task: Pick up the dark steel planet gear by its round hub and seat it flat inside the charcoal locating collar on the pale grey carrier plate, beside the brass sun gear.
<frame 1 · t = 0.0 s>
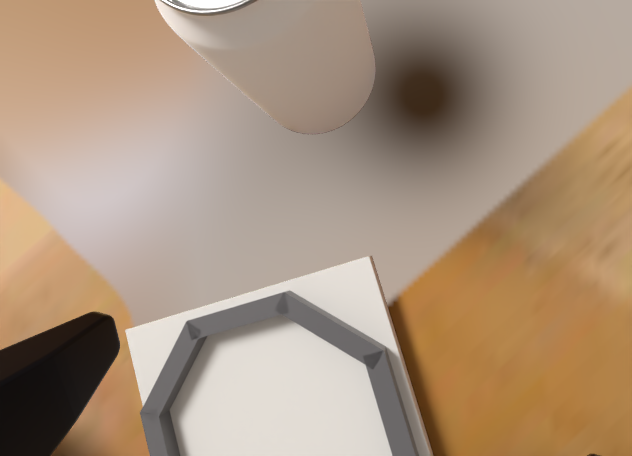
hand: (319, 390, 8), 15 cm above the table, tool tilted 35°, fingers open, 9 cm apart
can: (317, 78, 25), on the table
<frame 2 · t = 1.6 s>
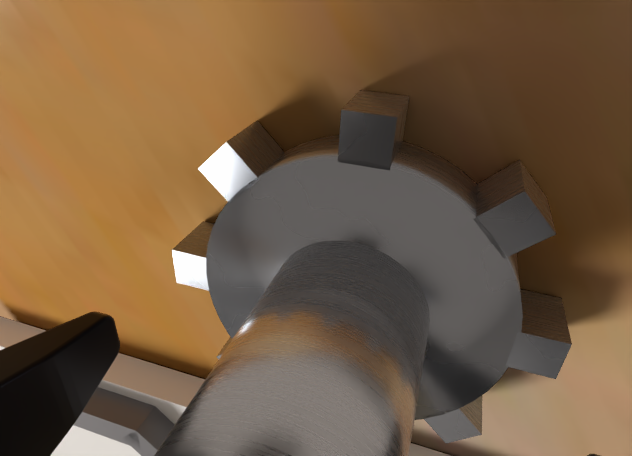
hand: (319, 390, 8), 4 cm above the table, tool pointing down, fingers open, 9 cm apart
planet gear: (363, 272, 12), on the table
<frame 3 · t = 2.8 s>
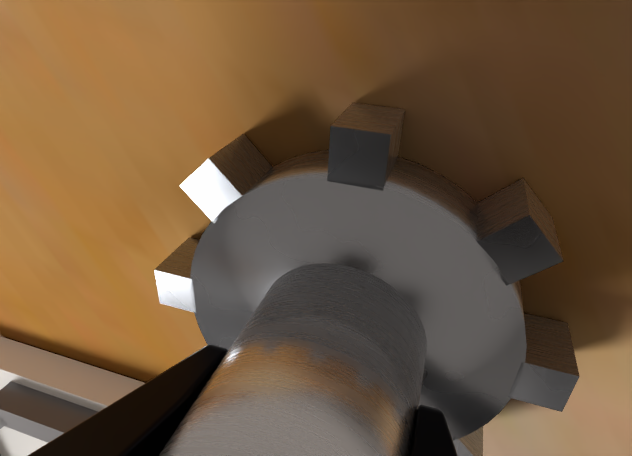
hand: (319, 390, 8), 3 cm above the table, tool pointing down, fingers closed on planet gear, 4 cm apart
planet gear: (357, 292, 11), on the table, touching gripper
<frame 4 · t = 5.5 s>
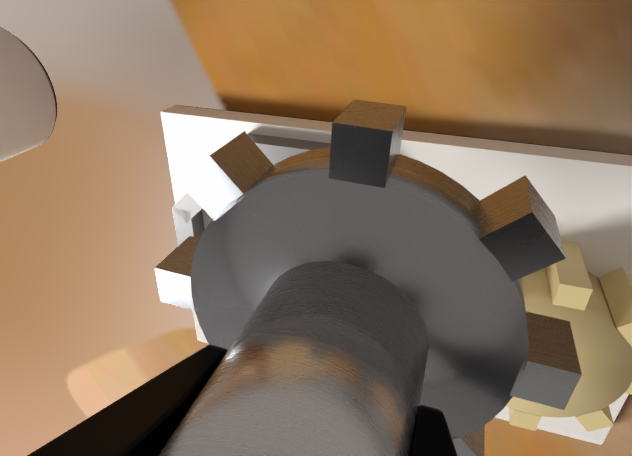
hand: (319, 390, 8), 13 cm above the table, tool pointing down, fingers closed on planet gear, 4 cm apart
planet gear: (358, 290, 11), point 10 cm above the table, touching gripper
can: (13, 85, 24), on the table
carrier plate: (392, 269, 22), on the table
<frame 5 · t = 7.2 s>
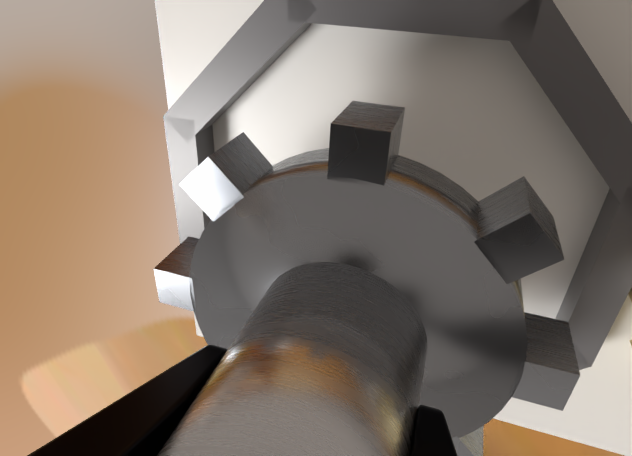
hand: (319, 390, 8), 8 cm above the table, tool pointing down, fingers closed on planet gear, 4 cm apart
planet gear: (357, 291, 11), point 5 cm above the table, touching gripper
carrier plate: (518, 229, 14), on the table
when the fingers open (5 cm above the table, at t = 8.5 s): planet gear stays where it is, resting on carrier plate.
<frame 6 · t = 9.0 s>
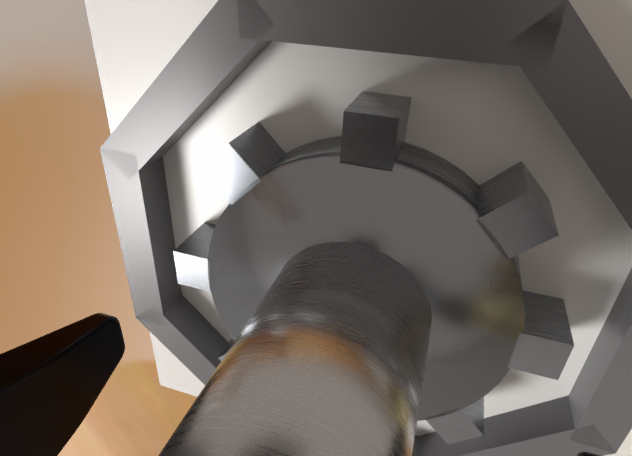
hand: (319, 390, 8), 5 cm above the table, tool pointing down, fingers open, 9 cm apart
planet gear: (364, 273, 12), point 1 cm above the table, touching carrier plate
carrier plate: (527, 282, 12), on the table
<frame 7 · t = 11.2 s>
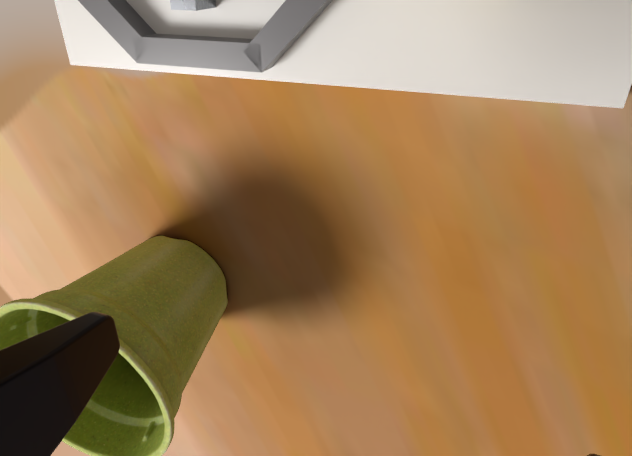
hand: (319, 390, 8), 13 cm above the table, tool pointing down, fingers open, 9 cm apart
plant pot: (184, 275, 27), on the table
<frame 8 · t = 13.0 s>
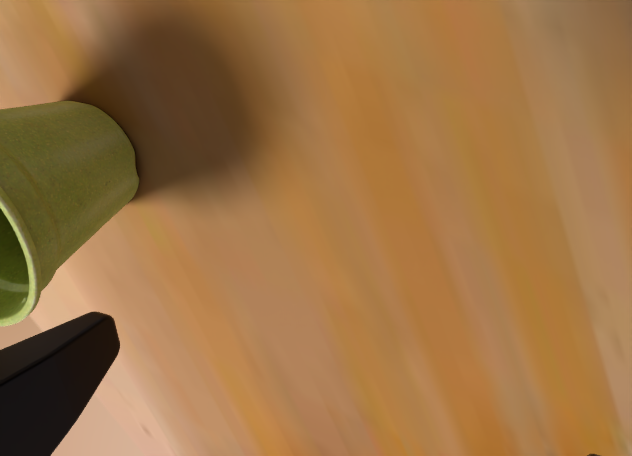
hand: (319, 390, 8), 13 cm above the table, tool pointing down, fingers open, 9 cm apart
plant pot: (95, 153, 25), on the table
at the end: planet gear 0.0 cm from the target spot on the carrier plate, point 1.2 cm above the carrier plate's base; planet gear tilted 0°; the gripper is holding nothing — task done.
